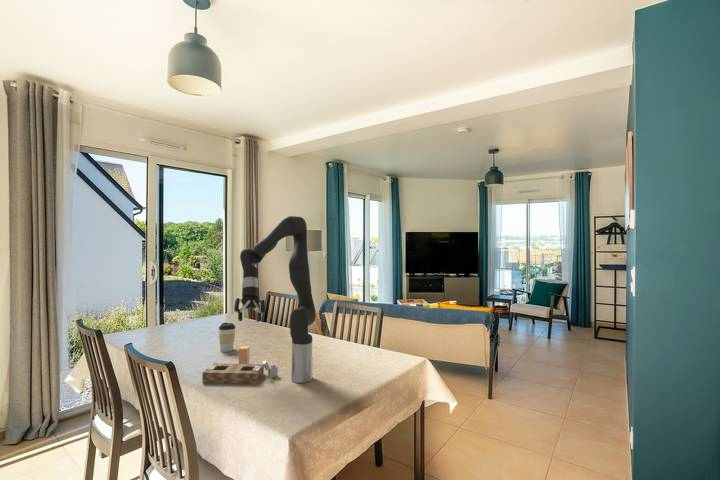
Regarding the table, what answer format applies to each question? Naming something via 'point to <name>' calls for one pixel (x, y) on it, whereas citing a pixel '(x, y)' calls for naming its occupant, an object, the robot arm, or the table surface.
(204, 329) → the table surface
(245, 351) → the peg
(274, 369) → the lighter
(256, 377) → the slot holder
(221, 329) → the coffee cup
